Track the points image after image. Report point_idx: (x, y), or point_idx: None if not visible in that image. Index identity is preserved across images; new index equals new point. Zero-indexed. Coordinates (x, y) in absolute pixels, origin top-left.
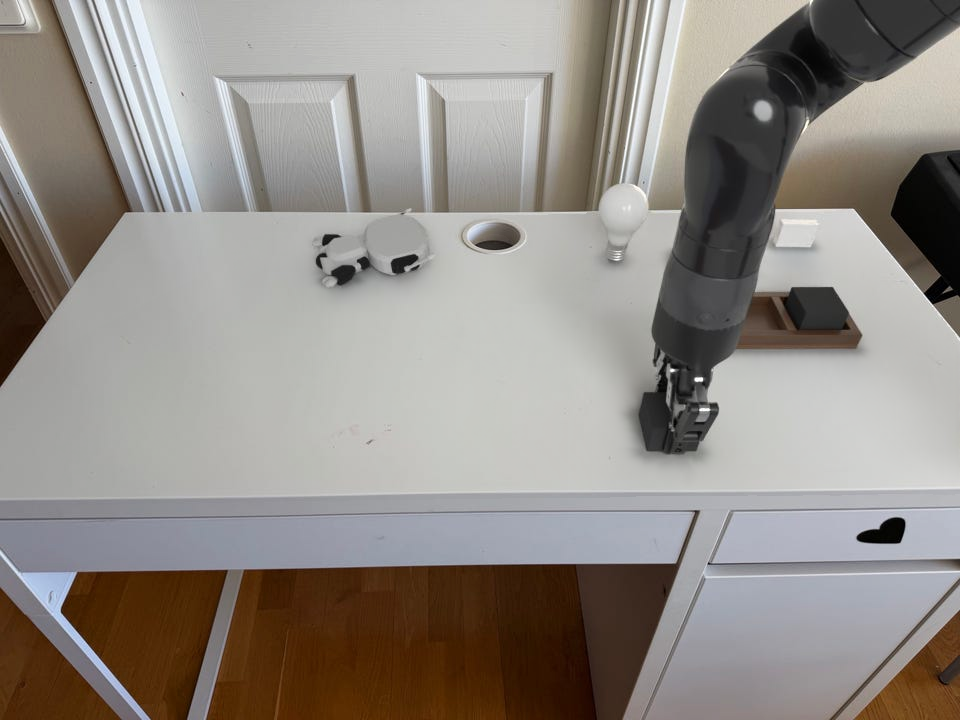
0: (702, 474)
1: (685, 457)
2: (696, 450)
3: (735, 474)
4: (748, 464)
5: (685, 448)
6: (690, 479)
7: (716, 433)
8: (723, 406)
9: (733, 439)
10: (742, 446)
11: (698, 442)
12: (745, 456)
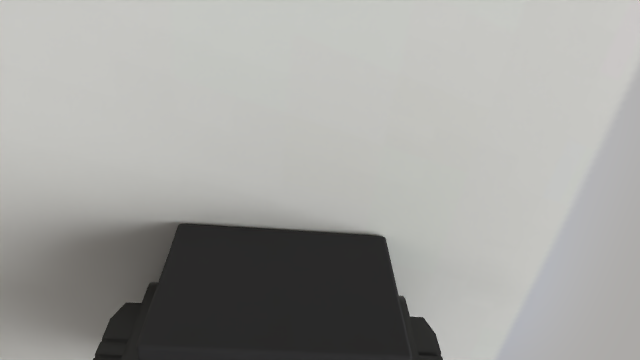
0: (495, 244)
1: (403, 273)
2: (385, 239)
3: (542, 130)
4: (513, 51)
5: (440, 355)
6: (502, 282)
7: (295, 131)
8: (96, 31)
9: (343, 65)
10: (397, 36)
11: (394, 280)
12: (462, 46)
